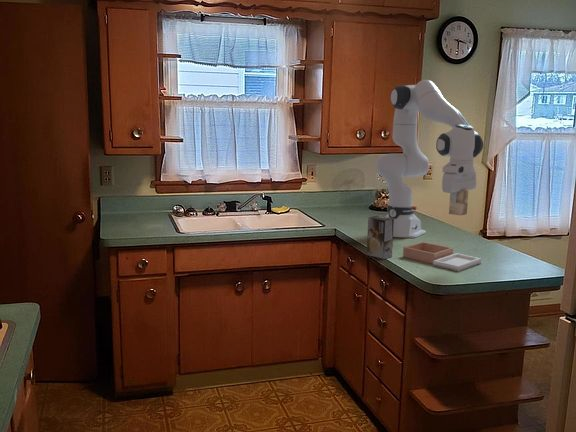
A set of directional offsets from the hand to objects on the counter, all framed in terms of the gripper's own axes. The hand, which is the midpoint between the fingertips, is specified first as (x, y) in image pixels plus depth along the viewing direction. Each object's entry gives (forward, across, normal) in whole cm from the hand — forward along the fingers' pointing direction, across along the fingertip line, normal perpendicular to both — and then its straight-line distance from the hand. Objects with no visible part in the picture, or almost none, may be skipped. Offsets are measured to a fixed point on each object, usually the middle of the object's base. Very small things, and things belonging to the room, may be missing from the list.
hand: (458, 202), depth 232 cm
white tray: (+25, 0, +1) cm, 25 cm away
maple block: (+5, 0, 0) cm, 5 cm away
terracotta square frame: (+25, -1, -13) cm, 28 cm away
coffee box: (+25, +13, -27) cm, 39 cm away
